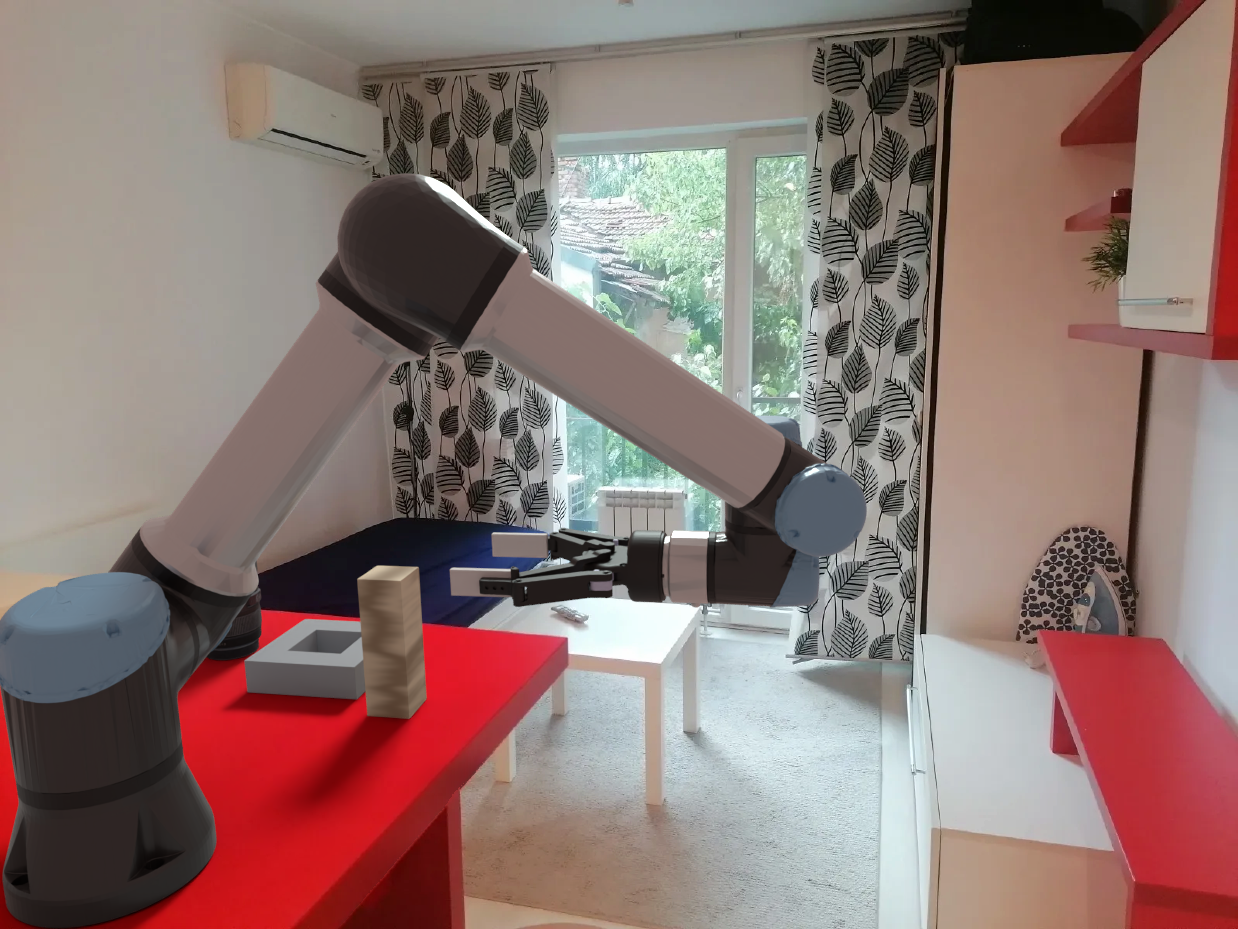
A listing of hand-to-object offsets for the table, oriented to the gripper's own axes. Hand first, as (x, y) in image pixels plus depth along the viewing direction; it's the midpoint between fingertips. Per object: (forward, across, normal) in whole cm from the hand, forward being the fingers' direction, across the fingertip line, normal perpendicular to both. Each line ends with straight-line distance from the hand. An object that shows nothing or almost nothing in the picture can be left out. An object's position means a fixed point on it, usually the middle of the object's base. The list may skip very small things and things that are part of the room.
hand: (473, 561), depth 95 cm
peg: (+10, 0, -18) cm, 20 cm away
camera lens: (+39, +13, -18) cm, 45 cm away
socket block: (+23, +8, -17) cm, 30 cm away
